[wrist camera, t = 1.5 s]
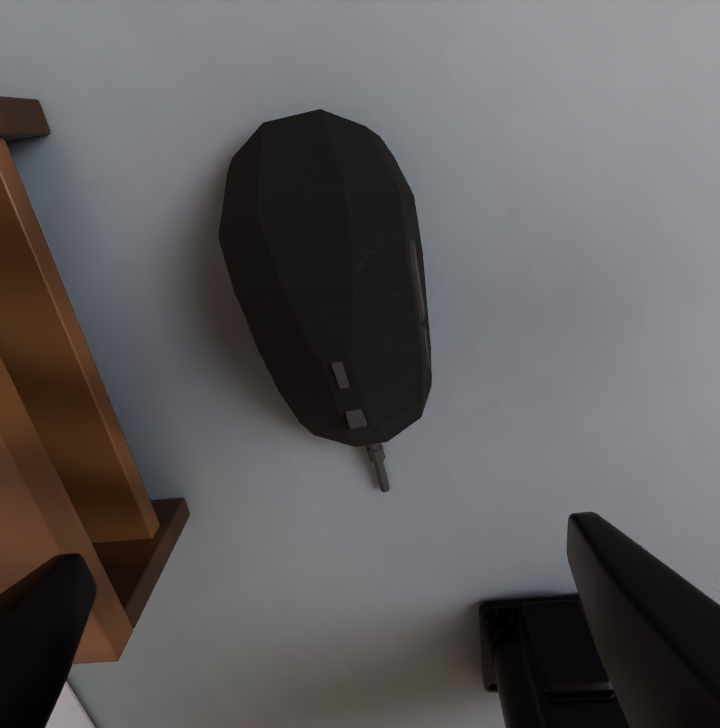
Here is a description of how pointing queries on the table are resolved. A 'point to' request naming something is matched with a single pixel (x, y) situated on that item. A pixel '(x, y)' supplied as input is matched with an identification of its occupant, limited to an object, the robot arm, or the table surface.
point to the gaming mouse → (331, 276)
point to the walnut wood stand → (65, 432)
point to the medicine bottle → (69, 712)
